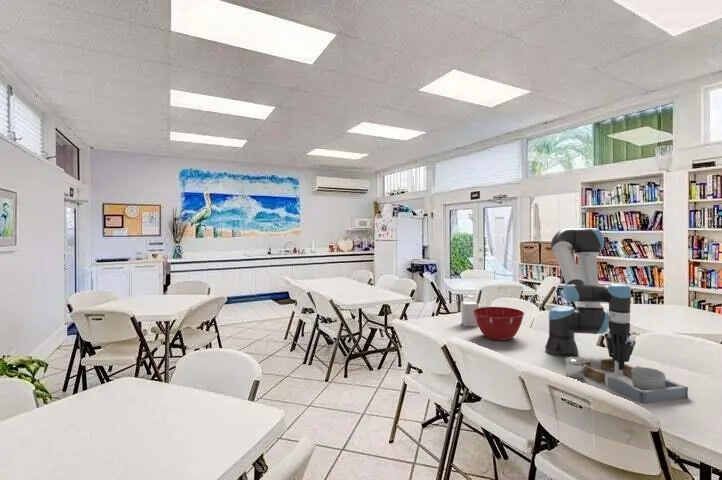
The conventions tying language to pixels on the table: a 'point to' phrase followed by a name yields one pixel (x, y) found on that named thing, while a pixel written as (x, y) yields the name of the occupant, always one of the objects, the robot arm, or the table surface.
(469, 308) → the supplement box
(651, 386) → the teacup
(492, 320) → the mixing bowl
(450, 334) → the table surface
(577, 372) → the sugar tin
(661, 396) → the dock
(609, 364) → the wooden u-shaped bracket
